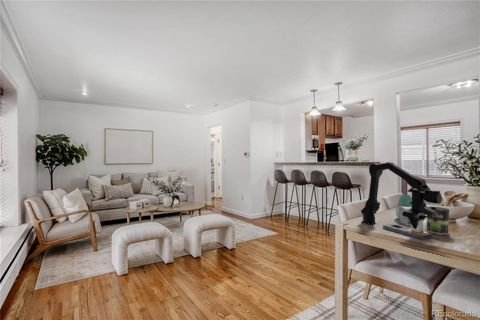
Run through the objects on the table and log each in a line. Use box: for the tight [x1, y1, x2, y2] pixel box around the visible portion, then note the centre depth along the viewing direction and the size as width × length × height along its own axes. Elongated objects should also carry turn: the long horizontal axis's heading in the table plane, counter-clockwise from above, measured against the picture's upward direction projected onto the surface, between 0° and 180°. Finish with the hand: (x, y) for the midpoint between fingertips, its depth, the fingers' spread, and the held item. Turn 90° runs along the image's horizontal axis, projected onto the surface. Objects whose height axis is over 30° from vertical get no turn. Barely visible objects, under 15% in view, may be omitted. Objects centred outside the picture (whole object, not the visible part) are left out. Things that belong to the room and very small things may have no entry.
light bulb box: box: [399, 206, 411, 227], centre depth 159 cm, size 11×7×11 cm, turn 168°
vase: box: [395, 194, 412, 220], centre depth 171 cm, size 12×12×18 cm
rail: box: [382, 223, 434, 241], centre depth 142 cm, size 22×10×2 cm, turn 26°
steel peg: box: [410, 219, 424, 233], centre depth 137 cm, size 4×4×8 cm
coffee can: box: [426, 206, 450, 236], centre depth 143 cm, size 10×10×14 cm
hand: (417, 228), depth 137 cm, fingers closed on steel peg, 4 cm apart
